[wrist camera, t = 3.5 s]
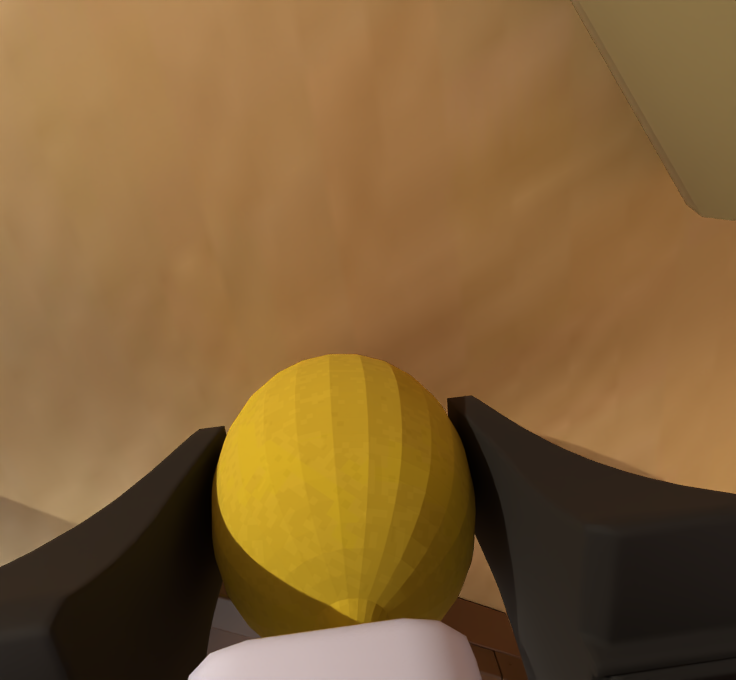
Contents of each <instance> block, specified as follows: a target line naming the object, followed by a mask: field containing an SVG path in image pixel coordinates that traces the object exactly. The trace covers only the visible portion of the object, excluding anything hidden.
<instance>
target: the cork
mask: <svg viewBox="0 0 736 680" xmlns="http://www.w3.org/2000/svg"><path fill="white" fill-rule="evenodd" d="M571 2H572V4H573V6H574V7H575V9H576V11H577V13H578V14H579V16H580V18H581V20H582V21H583V23H584V25H585V27H586V29H587V30H588V32H589V34H590V36H591V37H592V39H593V41H594V43H595V44H596V46H597V48H598V50H599V51H600V53H601V55H602V57H603V58H604V60H605V62H606V64H607V66H608V67H609V69H610V71H611V73H612V74H613V76H614V78H615V80H616V81H617V83H618V85H619V87H620V88H621V90H622V92H623V94H624V95H625V97H626V99H627V101H628V102H629V104H630V106H631V108H632V110H633V111H634V113H635V115H636V117H637V118H638V120H639V122H640V124H641V125H642V127H643V129H644V131H645V132H646V134H647V136H648V138H649V139H650V141H651V143H652V145H653V147H654V148H655V150H656V152H657V154H658V155H659V157H660V159H661V161H662V162H663V164H664V166H665V168H666V169H667V171H668V173H669V175H670V176H671V178H672V180H673V182H674V184H675V185H676V187H677V189H678V191H679V192H680V194H681V196H682V198H683V199H684V201H685V203H686V204H687V205H688V206H689V207H690V208H692V209H693V210H694V211H695V212H697V213H698V214H699V215H700V216H702V217H707V218H715V219H723V220H731V221H735V220H736V0H571Z"/></svg>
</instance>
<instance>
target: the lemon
mask: <svg viewBox="0 0 736 680" xmlns="http://www.w3.org/2000/svg"><path fill="white" fill-rule="evenodd" d="M475 515H476V506H475V493H474V486H473V482H472V477H471V473H470V469H469V465H468V461H467V457H466V453H465V449H464V446H463V444H462V441H461V438H460V436H459V434H458V432H457V431H456V429H455V427H454V426H453V424H452V422H451V421H450V419H449V417H448V416H447V414H446V412H445V411H444V409H443V407H442V406H441V404H440V403H439V402H438V400H437V399H436V398H435V397H434V396H433V395H432V394H431V393H430V392H429V391H428V390H427V389H425V388H424V387H423V386H422V385H421V384H420V383H419V382H418V381H417V380H416V379H415V378H413V377H412V376H411V375H409V374H408V373H406V372H404V371H402V370H400V369H399V368H397V367H395V366H393V365H391V364H389V363H387V362H385V361H382V360H378V359H374V358H370V357H366V356H362V355H358V354H328V355H324V356H320V357H315V358H311V359H307V360H303V361H301V362H299V363H297V364H295V365H293V366H291V367H289V368H287V369H285V370H283V371H281V372H279V373H277V374H276V375H275V376H274V377H272V378H271V379H270V380H269V381H268V382H267V383H266V384H264V385H263V386H262V387H261V388H260V389H259V390H258V391H256V392H255V393H254V394H253V395H252V396H251V398H250V399H249V400H248V402H247V403H246V404H245V406H244V407H243V409H242V410H241V412H240V413H239V415H238V416H237V418H236V419H235V421H234V422H233V424H232V426H231V427H230V429H229V431H228V433H227V436H226V438H225V441H224V444H223V447H222V450H221V453H220V457H219V460H218V463H217V466H216V470H215V474H214V478H213V485H212V540H213V548H214V554H215V558H216V562H217V565H218V568H219V571H220V574H221V577H222V580H223V583H224V586H225V589H226V591H227V594H228V596H229V598H230V600H231V601H232V603H233V604H234V606H235V607H236V609H237V610H238V612H239V613H240V614H241V616H242V617H243V619H244V620H245V621H246V623H247V624H248V626H249V627H250V628H251V629H253V630H254V631H255V632H256V633H257V634H258V635H259V636H261V637H262V638H265V637H272V636H279V635H286V634H293V633H300V632H307V631H314V630H321V629H328V628H336V627H343V626H350V625H357V624H364V623H371V622H378V621H385V620H392V619H399V618H412V619H429V620H438V621H441V620H442V619H443V617H444V616H445V615H446V613H447V612H448V610H449V609H450V608H451V606H452V605H453V604H454V602H455V601H456V599H457V598H458V595H459V593H460V591H461V589H462V586H463V584H464V581H465V578H466V575H467V573H468V570H469V567H470V565H471V561H472V556H473V551H474V535H475Z"/></svg>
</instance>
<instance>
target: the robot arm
mask: <svg viewBox="0 0 736 680" xmlns="http://www.w3.org/2000/svg"><path fill="white" fill-rule="evenodd" d="M447 404H448V417H449V419H450V421H451V422H452V424H453V426H454V427H455V429H456V431H457V432H458V434H459V436H460V438H461V441H462V444H463V446H464V449H465V453H466V457H467V461H468V465H469V469H470V473H471V477H472V482H473V486H474V493H475V506H476V515H475V535H476V538H477V540H478V542H479V544H480V546H481V549H482V551H483V553H484V555H485V558H486V560H487V562H488V564H489V566H490V569H491V571H492V573H493V575H494V578H495V580H496V583H497V585H498V588H499V590H500V593H501V596H502V599H503V602H504V605H505V608H506V611H507V614H508V617H509V620H510V624H511V627H512V630H513V633H514V636H515V639H516V642H517V645H518V649H519V652H520V655H521V658H522V661H523V665H524V668H525V671H526V674H527V678H528V680H736V494H732V493H726V492H720V491H713V490H707V489H701V488H695V487H688V486H683V485H678V484H673V483H669V482H664V481H660V480H656V479H651V478H647V477H643V476H640V475H636V474H632V473H629V472H625V471H622V470H619V469H616V468H613V467H610V466H607V465H603V464H601V463H598V462H595V461H592V460H590V459H587V458H584V457H582V456H580V455H577V454H575V453H573V452H570V451H568V450H565V449H563V448H561V447H559V446H557V445H555V444H552V443H551V442H549V441H547V440H545V439H543V438H541V437H539V436H537V435H535V434H533V433H532V432H530V431H528V430H526V429H524V428H523V427H521V426H519V425H518V424H516V423H514V422H513V421H511V420H509V419H508V418H506V417H505V416H503V415H502V414H500V413H498V412H497V411H495V410H494V409H492V408H491V407H489V406H488V405H486V404H485V403H483V402H482V401H480V400H478V399H477V398H475V397H473V396H463V397H455V398H447ZM226 436H227V435H226V431H225V426H221V427H213V428H205V429H199V430H198V431H196V432H195V433H194V434H193V435H191V436H190V437H189V438H188V439H187V440H186V441H184V442H183V443H182V444H181V445H180V446H179V447H178V448H177V449H176V450H174V451H173V452H172V453H171V454H170V455H169V456H168V457H167V458H165V459H164V460H163V461H162V462H161V463H160V464H159V465H158V466H156V467H155V468H154V469H153V470H152V471H151V472H150V473H148V474H147V475H146V476H145V477H143V478H142V479H141V480H140V481H138V482H137V483H136V484H135V485H133V486H132V487H131V488H130V489H128V490H127V491H126V492H125V493H123V494H122V495H121V496H120V497H118V498H117V499H116V500H114V501H113V502H112V503H110V504H109V505H107V506H106V507H105V508H103V509H102V510H100V511H99V512H97V513H96V514H94V515H93V516H91V517H90V518H88V519H87V520H85V521H84V522H82V523H81V524H79V525H77V526H76V527H74V528H72V529H71V530H69V531H67V532H65V533H64V534H62V535H60V536H58V537H57V538H55V539H53V540H51V541H50V542H48V543H46V544H44V545H43V546H41V547H39V548H38V549H36V550H34V551H32V552H30V553H28V554H26V555H24V556H22V557H20V558H18V559H16V560H14V561H12V562H10V563H8V564H6V565H4V566H2V567H0V680H482V678H481V675H480V671H479V668H478V665H477V661H476V658H475V656H474V654H473V651H472V649H471V647H470V644H469V642H468V640H467V637H466V636H465V635H463V634H461V633H460V632H458V631H456V630H455V629H453V628H451V627H449V626H448V625H446V624H444V623H442V622H441V621H438V620H429V619H412V618H399V619H392V620H385V621H378V622H371V623H364V624H357V625H350V626H343V627H336V628H328V629H321V630H314V631H307V632H300V633H293V634H286V635H279V636H272V637H265V638H258V639H250V640H246V641H243V642H240V643H237V644H234V645H231V646H228V647H226V648H223V649H220V650H217V651H215V652H212V653H210V654H209V655H208V656H207V649H208V643H209V636H210V630H211V626H212V621H213V617H214V612H215V608H216V605H217V601H218V597H219V593H220V589H221V586H222V582H223V580H222V577H221V574H220V571H219V568H218V565H217V562H216V558H215V554H214V548H213V540H212V485H213V478H214V474H215V470H216V466H217V463H218V460H219V457H220V453H221V450H222V447H223V444H224V441H225V438H226ZM206 656H207V657H206Z"/></svg>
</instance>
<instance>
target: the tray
mask: <svg viewBox="0 0 736 680" xmlns="http://www.w3.org/2000/svg"><path fill="white" fill-rule="evenodd" d="M441 622H442V623H444V624H446V625H448V626H449V627H451V628H453V629H455V630H456V631H458V632H460V633H461V634H463V635H465V636H466V637H467V640H468V642H469V644H470V647H471V649H472V651H473V654H474V656H475V658H476V661H477V665H478V668H479V671H480V675H481V678H482V680H528V678H527V674H526V671H525V668H524V665H523V661H522V658H521V655H520V652H519V649H518V645H517V642H516V639H515V636H514V633H513V630H512V628H511V625H510V623H509V620H508V617H507V615H506V614H505V613H502V612H499V611H496V610H493V609H490V608H487V607H484V606H481V605H478V604H475V603H472V602H469V601H466V600H463V599H460V598H457V599H456V601H455V602H454V604H453V605H452V606H451V608H450V609H449V610H448V612H447V613H446V615H445V616H444V617H443V619H442V620H441ZM258 638H262V637H261V636H259V635H258V634H257V633H256V632H255V631H254V630H253V629H251V628H250V627H249V626H248V624H247V623H246V621H245V620H244V619H243V617H242V616H241V614H240V613H239V612H238V610H237V609H236V607H235V606H234V604H233V603H232V601H231V600H230V598H229V596H228V594H227V591H226V589H225V586H224V583H223V582H222V586H221V589H220V593H219V597H218V601H217V605H216V608H215V612H214V617H213V621H212V626H211V630H210V636H209V643H208V649H207V656H208V655H209V654H210V653H212V652H215V651H217V650H220V649H223V648H226V647H228V646H231V645H234V644H237V643H240V642H243V641H246V640H250V639H258ZM207 656H206V657H207Z"/></svg>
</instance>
